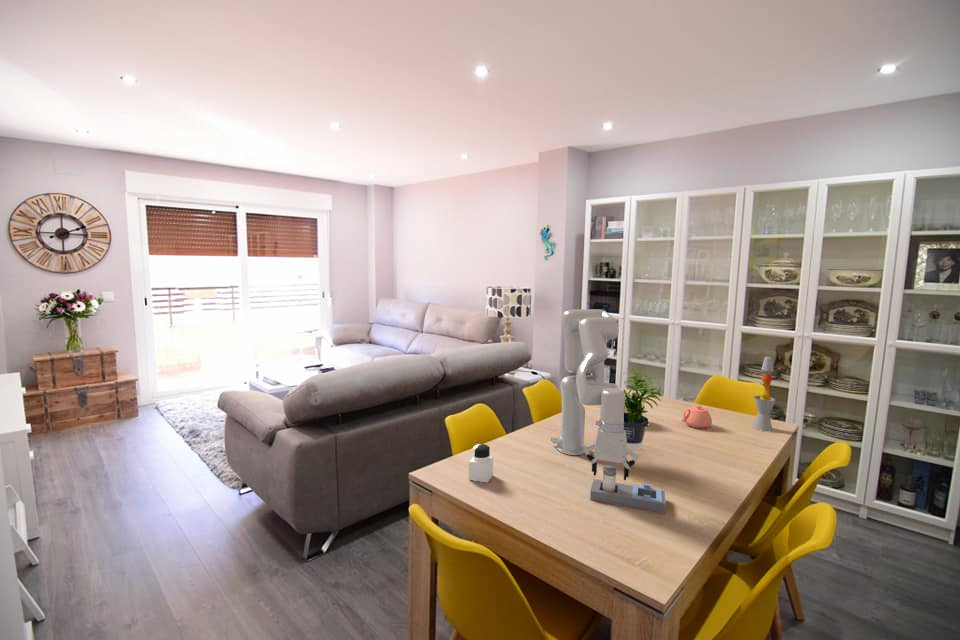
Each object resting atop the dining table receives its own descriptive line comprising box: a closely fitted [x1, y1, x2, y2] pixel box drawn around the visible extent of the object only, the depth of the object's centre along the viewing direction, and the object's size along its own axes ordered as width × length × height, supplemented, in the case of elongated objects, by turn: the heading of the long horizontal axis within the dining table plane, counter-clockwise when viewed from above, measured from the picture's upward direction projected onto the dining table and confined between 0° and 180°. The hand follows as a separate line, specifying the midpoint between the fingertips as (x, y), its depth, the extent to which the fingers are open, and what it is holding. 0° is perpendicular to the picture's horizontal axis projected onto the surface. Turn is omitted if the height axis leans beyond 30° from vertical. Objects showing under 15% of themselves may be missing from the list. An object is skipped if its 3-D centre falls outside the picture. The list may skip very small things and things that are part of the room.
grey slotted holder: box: [589, 478, 667, 514], centre depth 150 cm, size 23×9×4 cm, turn 70°
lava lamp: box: [751, 356, 777, 432], centre depth 217 cm, size 9×9×35 cm
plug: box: [602, 464, 617, 493], centre depth 152 cm, size 4×4×10 cm
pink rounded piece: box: [681, 404, 713, 429], centre depth 221 cm, size 12×14×10 cm
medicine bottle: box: [468, 443, 494, 484], centre depth 164 cm, size 7×7×12 cm
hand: (609, 476), depth 151 cm, fingers open, 9 cm apart
